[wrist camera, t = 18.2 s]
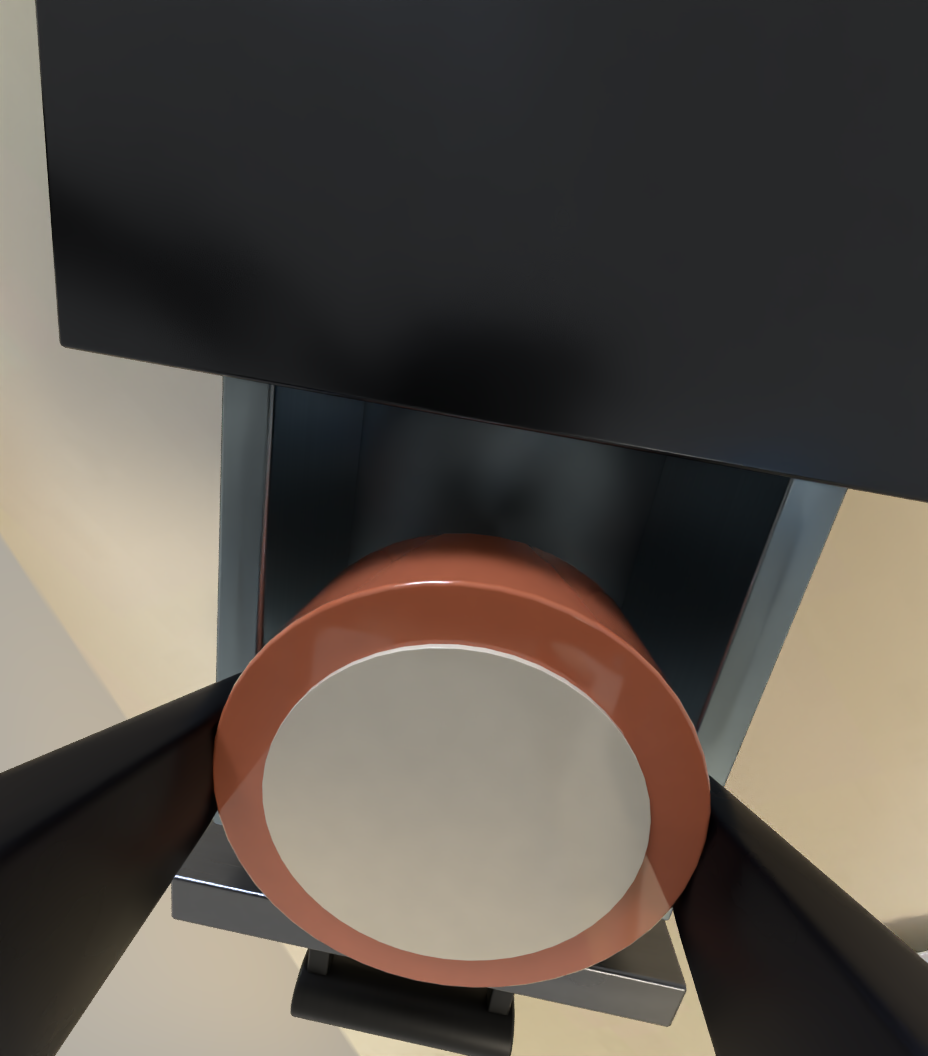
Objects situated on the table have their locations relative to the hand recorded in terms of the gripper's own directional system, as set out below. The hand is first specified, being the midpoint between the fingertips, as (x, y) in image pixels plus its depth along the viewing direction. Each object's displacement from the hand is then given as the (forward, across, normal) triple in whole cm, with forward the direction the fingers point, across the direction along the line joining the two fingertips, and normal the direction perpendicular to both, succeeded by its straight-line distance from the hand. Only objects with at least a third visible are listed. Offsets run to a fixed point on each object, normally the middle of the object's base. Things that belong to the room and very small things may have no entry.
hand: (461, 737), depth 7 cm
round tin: (+1, 0, 0) cm, 1 cm away
